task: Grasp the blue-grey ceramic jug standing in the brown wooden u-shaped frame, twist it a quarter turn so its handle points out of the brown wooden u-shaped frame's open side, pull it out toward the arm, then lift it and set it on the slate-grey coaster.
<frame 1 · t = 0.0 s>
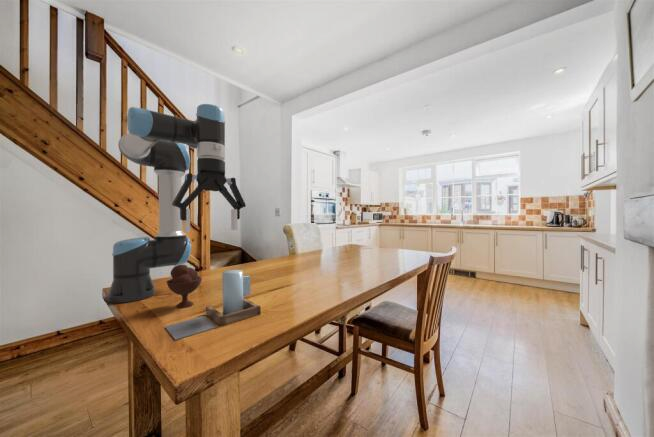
hand: (212, 231, 76), 28 cm above the table, fingers open, 13 cm apart
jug: (233, 314, 84), resting in brown wooden u-shaped frame
coaster: (191, 327, 74), on the table
ice cream bowl: (184, 306, 92), on the table
brown wooden u-shaped frame: (233, 313, 84), on the table
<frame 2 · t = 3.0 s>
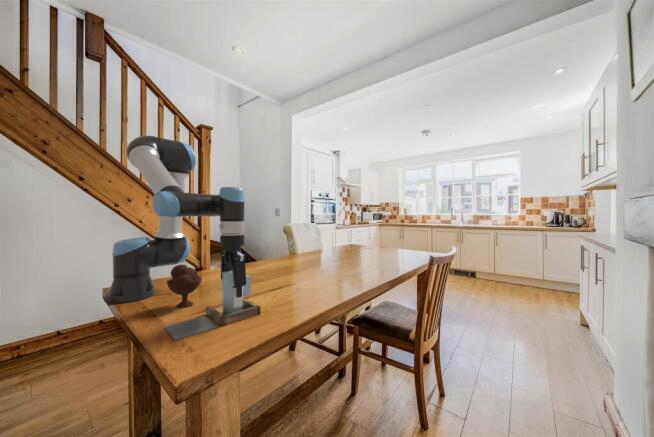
hand: (233, 303, 84), 3 cm above the table, fingers closed on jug, 6 cm apart
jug: (233, 314, 84), resting in brown wooden u-shaped frame, touching gripper
everything else where it was.
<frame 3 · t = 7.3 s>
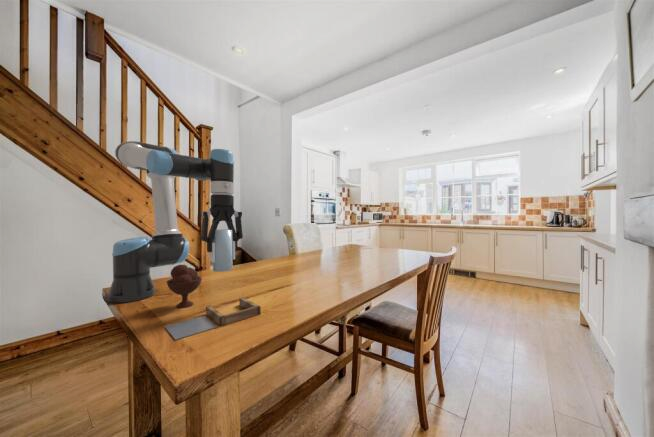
hand: (222, 260, 89), 17 cm above the table, fingers closed on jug, 6 cm apart
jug: (222, 269, 89), point 13 cm above the table, touching gripper
everything else where it was.
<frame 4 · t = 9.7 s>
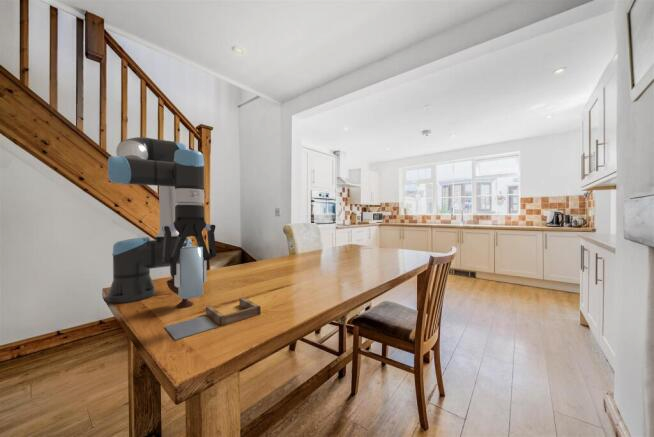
hand: (191, 283, 74), 13 cm above the table, fingers closed on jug, 6 cm apart
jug: (191, 295, 74), point 9 cm above the table, touching gripper
everything else where it was.
when the fingers open (5 cm above the table, at t = 11.7 s): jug drops 1 cm, resting on coaster.
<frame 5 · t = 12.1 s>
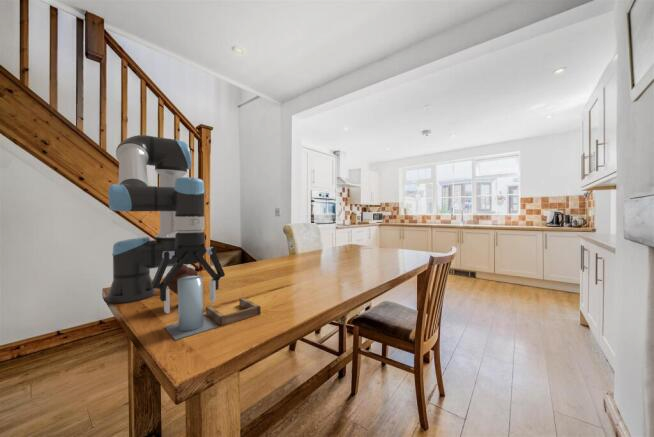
hand: (191, 306, 74), 6 cm above the table, fingers open, 11 cm apart
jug: (191, 326, 74), resting on coaster
everything else where it was.
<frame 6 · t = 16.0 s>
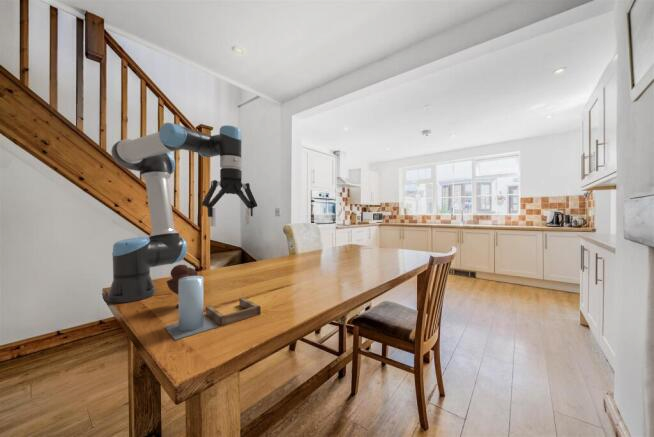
hand: (231, 225, 95), 29 cm above the table, fingers open, 13 cm apart
nothing on the table moved.
at the end: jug inside the target area on the coaster (0.1 cm from its centre), point 0.3 cm above the coaster's base; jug tilted 1°; the gripper is holding nothing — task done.
